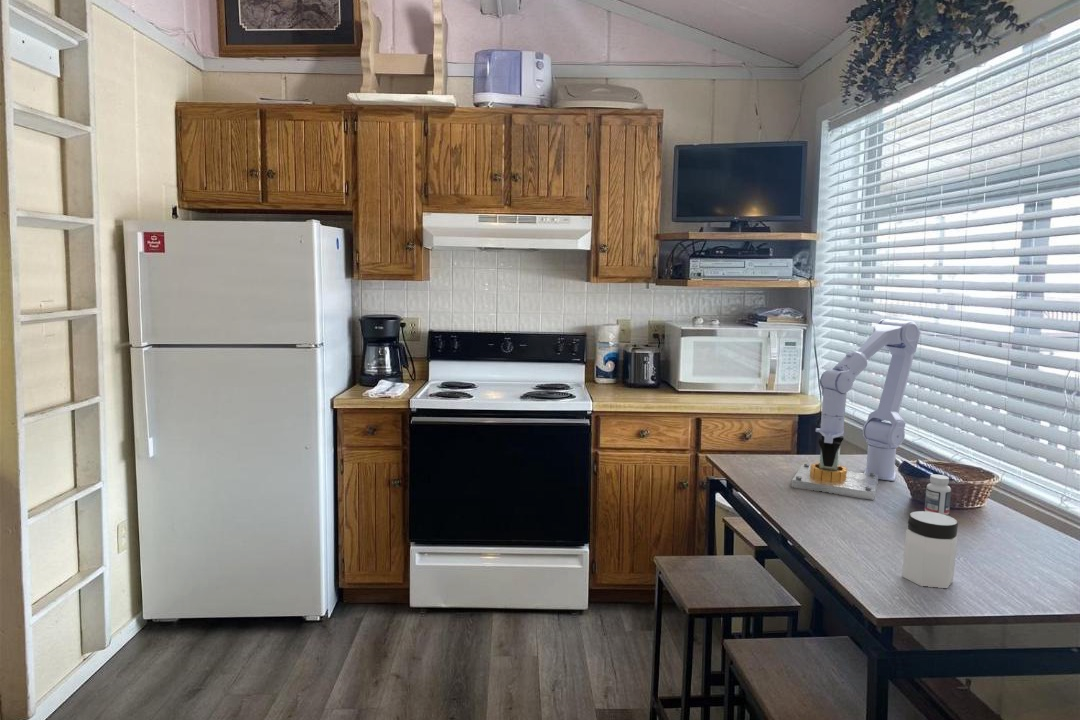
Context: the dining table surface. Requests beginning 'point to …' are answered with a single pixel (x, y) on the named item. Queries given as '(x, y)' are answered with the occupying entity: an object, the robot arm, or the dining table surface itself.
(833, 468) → the mint green square pillar
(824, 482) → the bolted plate with ring
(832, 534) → the dining table surface
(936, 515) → the jar
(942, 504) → the pill bottle
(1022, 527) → the dining table surface
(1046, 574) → the dining table surface
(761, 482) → the dining table surface
